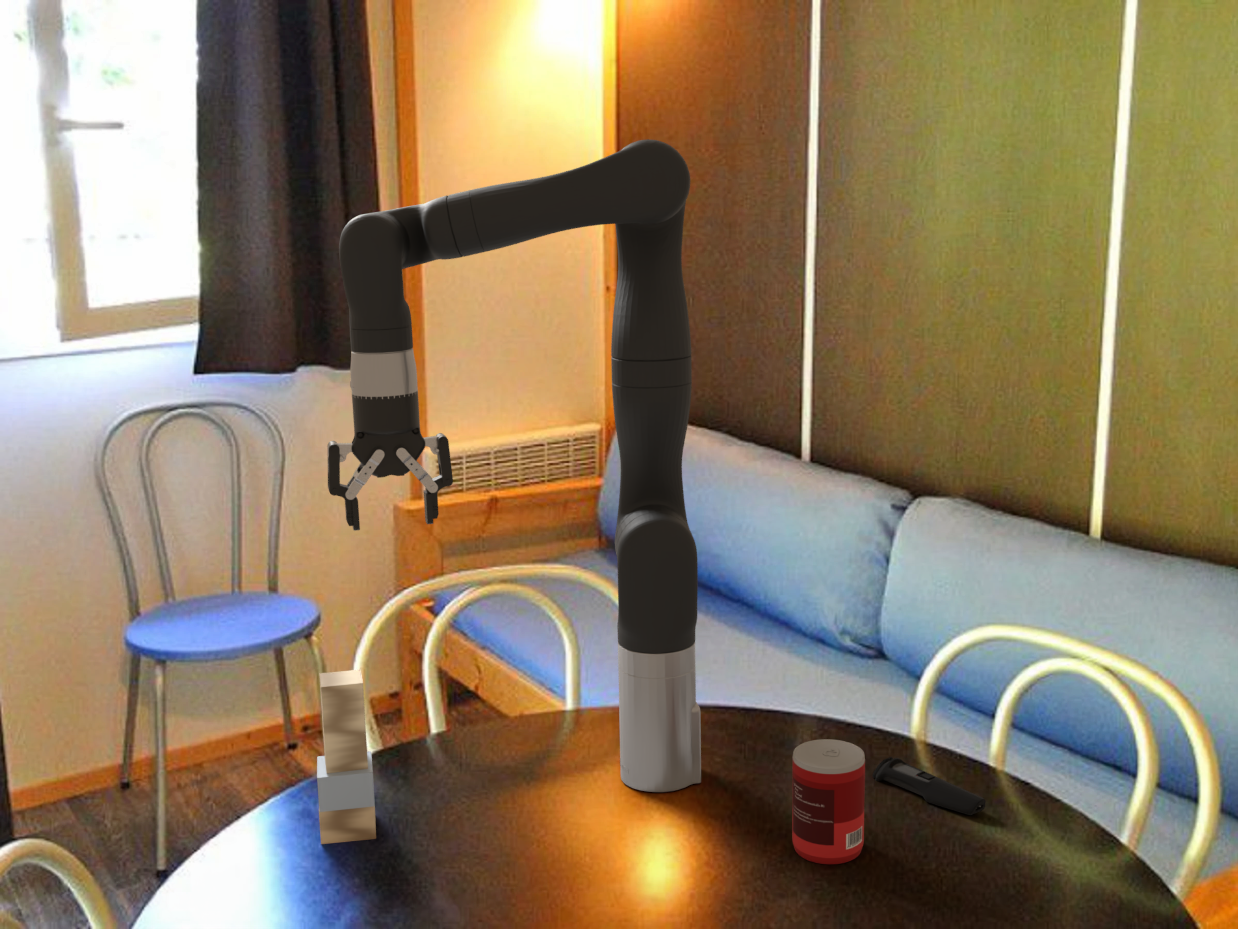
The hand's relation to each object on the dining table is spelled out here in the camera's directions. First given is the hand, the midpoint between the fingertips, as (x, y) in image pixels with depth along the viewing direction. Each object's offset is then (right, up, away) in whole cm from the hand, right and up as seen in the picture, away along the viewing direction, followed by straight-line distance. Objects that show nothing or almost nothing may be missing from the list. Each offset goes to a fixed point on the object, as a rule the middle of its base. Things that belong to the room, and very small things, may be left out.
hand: (393, 525), depth 166 cm
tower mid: (-4, -30, -7) cm, 31 cm away
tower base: (-4, -34, -6) cm, 35 cm away
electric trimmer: (+63, -32, 0) cm, 70 cm away
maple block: (-4, -26, -8) cm, 28 cm away
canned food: (+49, -34, -13) cm, 61 cm away
